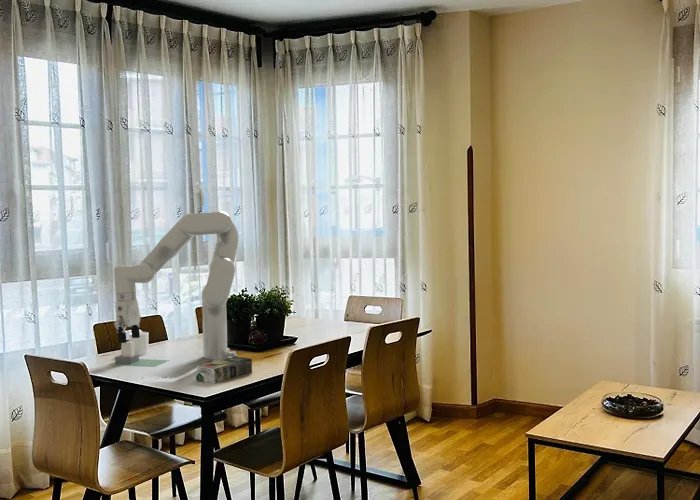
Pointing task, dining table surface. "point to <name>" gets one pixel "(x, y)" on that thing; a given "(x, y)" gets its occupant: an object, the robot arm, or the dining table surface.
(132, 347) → the cream rectangular block
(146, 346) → the white cup
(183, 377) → the dining table surface
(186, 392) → the dining table surface
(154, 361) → the board
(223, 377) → the juice carton
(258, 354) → the dining table surface
